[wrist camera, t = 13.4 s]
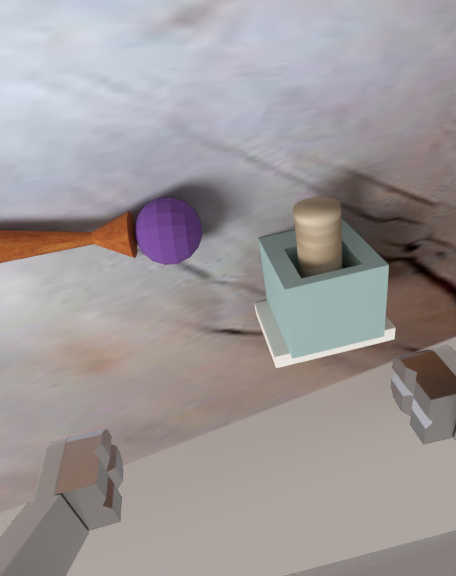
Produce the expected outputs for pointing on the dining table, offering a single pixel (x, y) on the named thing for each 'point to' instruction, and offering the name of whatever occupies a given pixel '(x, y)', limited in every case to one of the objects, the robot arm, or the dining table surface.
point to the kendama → (119, 235)
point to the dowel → (318, 235)
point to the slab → (284, 358)
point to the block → (325, 294)
